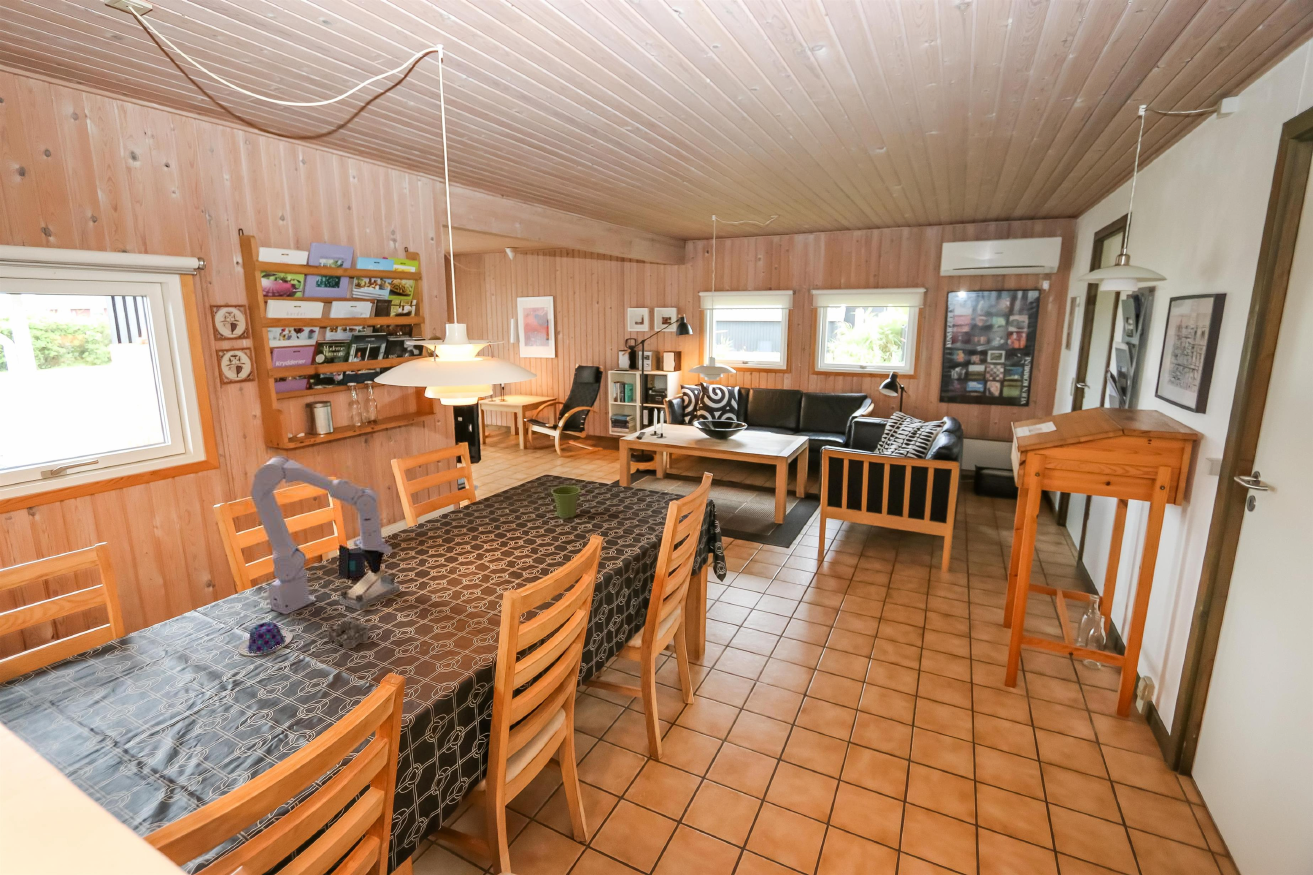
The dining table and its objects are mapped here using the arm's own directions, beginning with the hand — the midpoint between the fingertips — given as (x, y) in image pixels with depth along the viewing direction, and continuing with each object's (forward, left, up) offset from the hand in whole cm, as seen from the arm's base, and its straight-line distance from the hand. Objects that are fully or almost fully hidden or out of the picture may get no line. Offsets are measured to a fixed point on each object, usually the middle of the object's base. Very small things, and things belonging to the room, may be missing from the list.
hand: (375, 571), depth 184 cm
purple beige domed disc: (-33, +2, -8) cm, 33 cm away
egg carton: (-21, -15, -8) cm, 27 cm away
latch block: (-3, 0, -7) cm, 8 cm away
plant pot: (+82, -12, -7) cm, 84 cm away
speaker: (+5, +18, -7) cm, 20 cm away
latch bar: (-3, 0, -3) cm, 4 cm away
